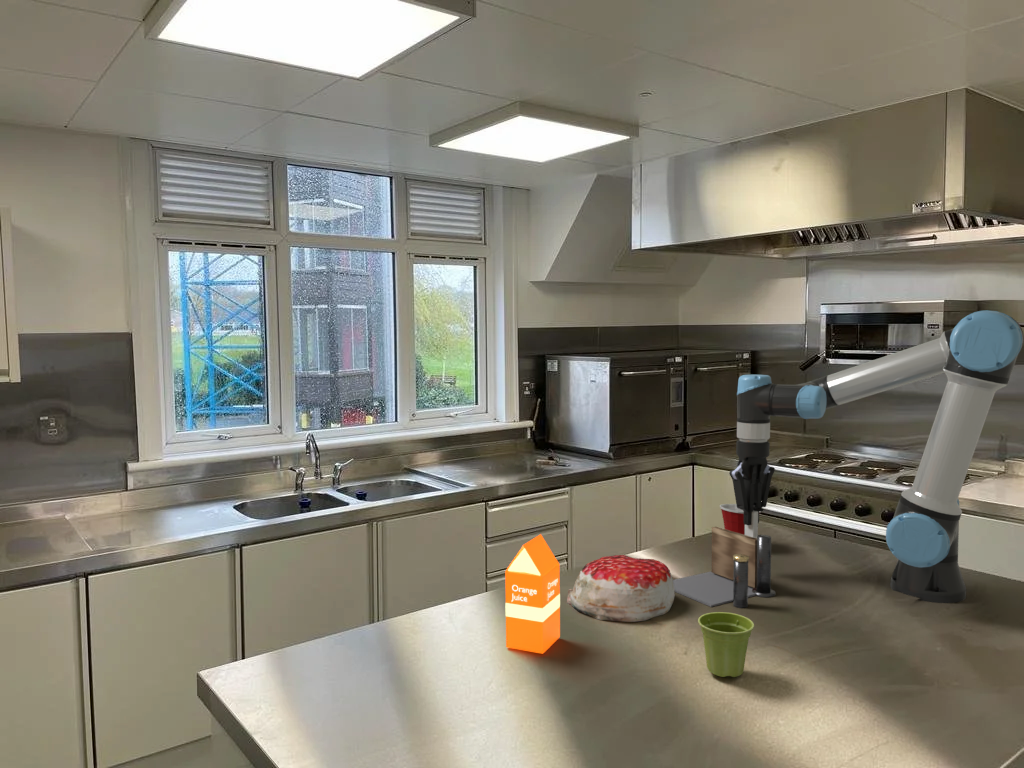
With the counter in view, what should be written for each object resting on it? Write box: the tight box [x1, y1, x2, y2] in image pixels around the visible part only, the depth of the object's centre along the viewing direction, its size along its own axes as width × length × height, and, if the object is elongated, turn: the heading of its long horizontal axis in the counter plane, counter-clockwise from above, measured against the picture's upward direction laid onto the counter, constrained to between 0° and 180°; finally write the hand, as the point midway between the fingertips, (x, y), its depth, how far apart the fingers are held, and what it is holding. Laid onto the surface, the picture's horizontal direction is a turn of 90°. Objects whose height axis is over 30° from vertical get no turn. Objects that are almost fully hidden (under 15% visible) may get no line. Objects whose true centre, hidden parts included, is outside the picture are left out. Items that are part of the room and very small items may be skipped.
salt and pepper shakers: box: [732, 534, 776, 609], centre depth 170 cm, size 7×14×13 cm, turn 120°
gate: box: [711, 526, 757, 588], centre depth 180 cm, size 14×1×11 cm, turn 30°
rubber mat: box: [673, 570, 757, 608], centre depth 177 cm, size 17×17×1 cm
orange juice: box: [504, 533, 561, 654], centre depth 147 cm, size 8×9×20 cm
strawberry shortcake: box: [566, 554, 676, 623], centre depth 170 cm, size 23×24×10 cm
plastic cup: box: [719, 503, 762, 535], centre depth 207 cm, size 11×11×12 cm
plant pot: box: [697, 611, 755, 678], centre depth 134 cm, size 9×9×9 cm
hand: (751, 537), depth 185 cm, fingers closed
